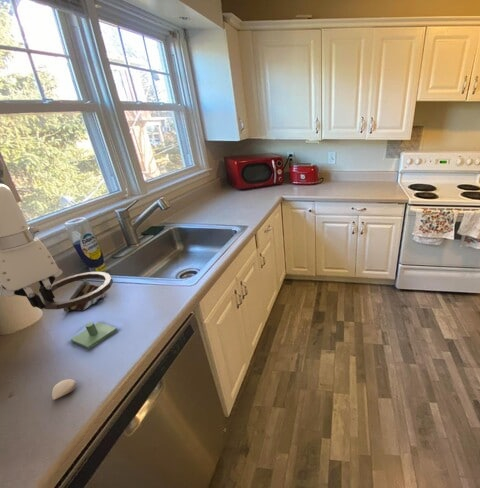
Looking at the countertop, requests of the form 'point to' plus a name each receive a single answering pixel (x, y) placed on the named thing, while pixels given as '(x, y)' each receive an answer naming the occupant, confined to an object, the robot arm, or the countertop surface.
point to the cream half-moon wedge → (63, 388)
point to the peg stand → (93, 334)
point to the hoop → (81, 299)
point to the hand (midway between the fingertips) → (45, 304)
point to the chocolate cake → (81, 291)
